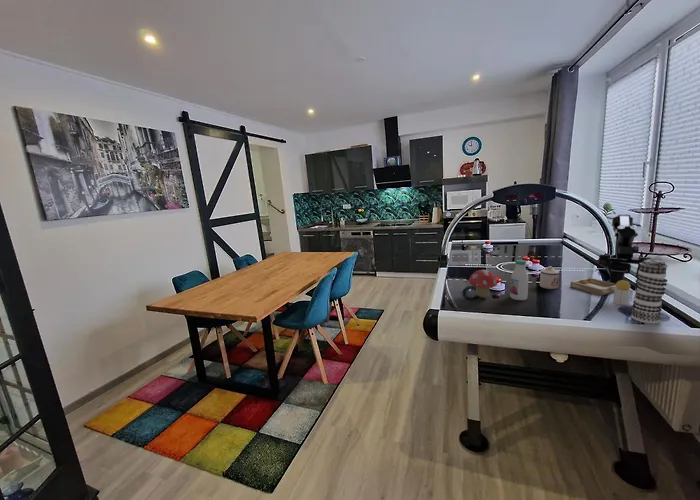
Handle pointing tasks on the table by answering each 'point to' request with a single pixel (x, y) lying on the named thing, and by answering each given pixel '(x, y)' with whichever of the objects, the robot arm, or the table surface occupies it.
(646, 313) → the decorative candle
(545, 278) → the teacup with lid
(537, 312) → the table surface
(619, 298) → the cup
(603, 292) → the tray
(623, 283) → the ball
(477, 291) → the decorative mushroom
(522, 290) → the milk bottle
